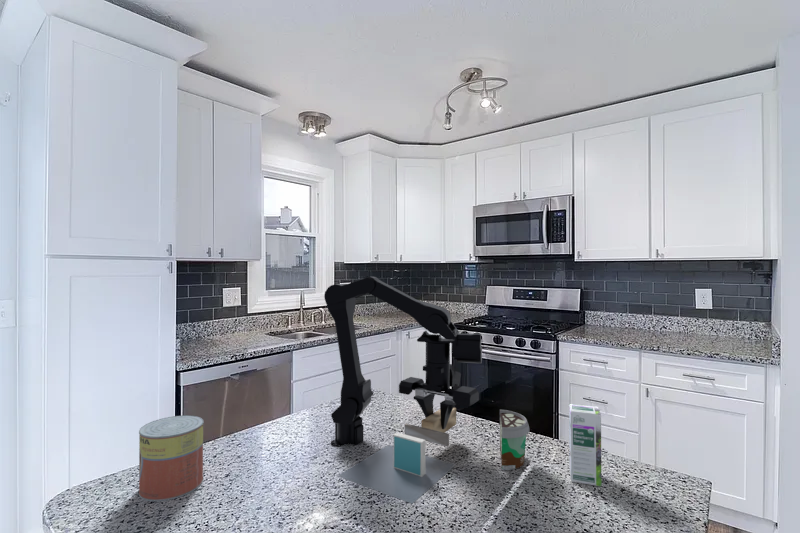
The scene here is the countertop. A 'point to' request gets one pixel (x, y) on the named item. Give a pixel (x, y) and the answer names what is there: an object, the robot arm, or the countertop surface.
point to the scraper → (432, 428)
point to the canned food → (170, 457)
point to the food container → (512, 439)
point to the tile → (409, 454)
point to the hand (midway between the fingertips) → (437, 427)
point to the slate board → (396, 475)
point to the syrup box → (585, 444)
